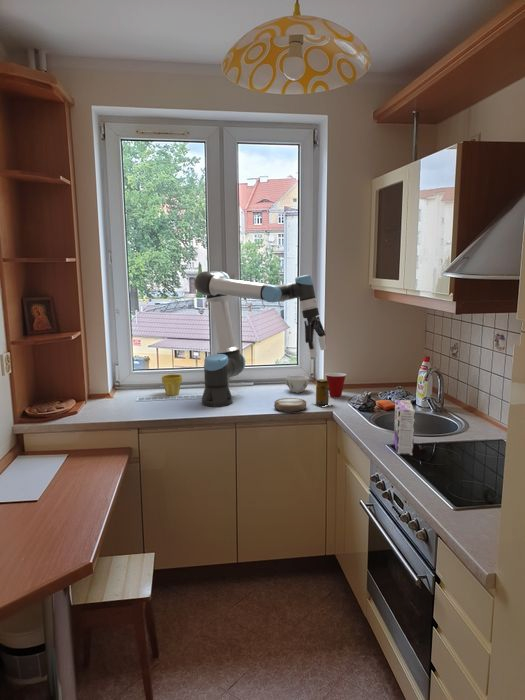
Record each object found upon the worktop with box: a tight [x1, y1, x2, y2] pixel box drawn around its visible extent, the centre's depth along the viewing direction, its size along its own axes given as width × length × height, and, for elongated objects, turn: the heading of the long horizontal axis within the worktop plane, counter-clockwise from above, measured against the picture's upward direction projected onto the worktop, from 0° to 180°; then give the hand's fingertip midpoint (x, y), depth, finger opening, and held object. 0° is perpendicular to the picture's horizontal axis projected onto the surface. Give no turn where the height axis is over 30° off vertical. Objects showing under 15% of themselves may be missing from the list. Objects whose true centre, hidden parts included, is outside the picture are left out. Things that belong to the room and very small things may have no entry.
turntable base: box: [277, 409, 304, 413], centre depth 232 cm, size 12×12×1 cm
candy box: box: [393, 399, 416, 456], centre depth 179 cm, size 14×6×16 cm, turn 169°
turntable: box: [274, 397, 307, 412], centre depth 231 cm, size 15×15×2 cm
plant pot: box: [161, 373, 183, 396], centre depth 259 cm, size 10×10×10 cm
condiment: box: [312, 378, 330, 408], centre depth 236 cm, size 7×8×12 cm
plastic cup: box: [325, 372, 347, 398], centre depth 251 cm, size 11×11×12 cm
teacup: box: [283, 374, 310, 394], centre depth 263 cm, size 15×12×8 cm
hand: (318, 352), depth 230 cm, fingers open, 13 cm apart
